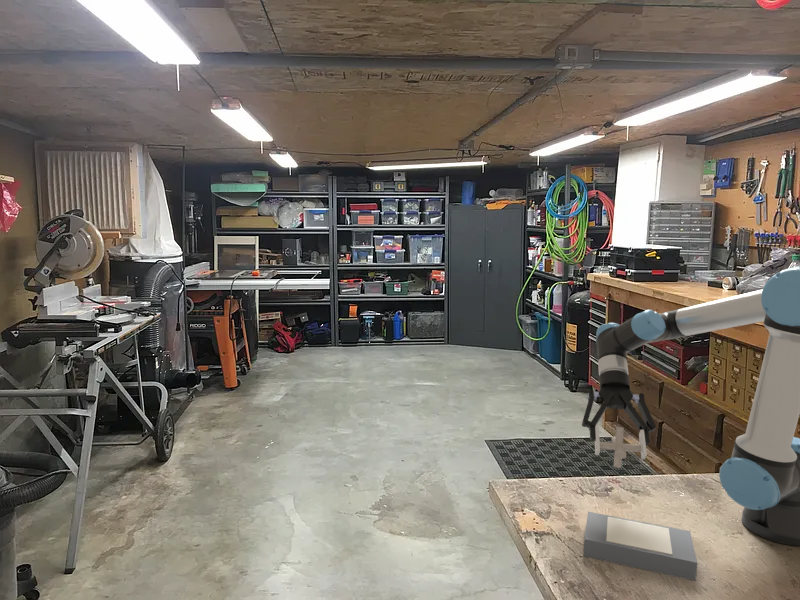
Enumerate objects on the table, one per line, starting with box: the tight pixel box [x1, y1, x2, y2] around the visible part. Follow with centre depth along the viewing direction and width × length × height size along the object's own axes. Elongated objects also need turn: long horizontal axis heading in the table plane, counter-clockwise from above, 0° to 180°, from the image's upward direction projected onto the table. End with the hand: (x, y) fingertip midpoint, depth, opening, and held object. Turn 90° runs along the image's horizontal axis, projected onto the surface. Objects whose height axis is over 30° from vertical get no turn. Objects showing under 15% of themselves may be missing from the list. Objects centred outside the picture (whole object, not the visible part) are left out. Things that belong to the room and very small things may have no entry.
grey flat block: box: [582, 511, 698, 582], centre depth 123 cm, size 22×13×4 cm, turn 68°
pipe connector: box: [600, 426, 641, 468], centre depth 138 cm, size 10×10×10 cm
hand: (620, 454), depth 135 cm, fingers closed on pipe connector, 10 cm apart
